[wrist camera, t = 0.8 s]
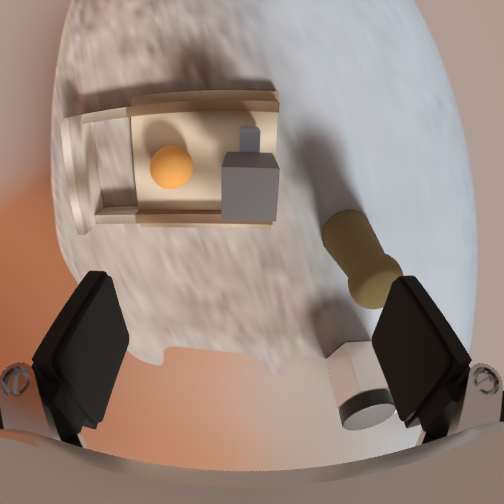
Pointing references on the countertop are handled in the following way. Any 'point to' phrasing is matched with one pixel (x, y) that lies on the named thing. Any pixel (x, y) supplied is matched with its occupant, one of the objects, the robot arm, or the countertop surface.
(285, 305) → the countertop surface
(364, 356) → the jar
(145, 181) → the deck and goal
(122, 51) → the countertop surface
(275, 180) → the grey stepped block
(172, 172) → the ball
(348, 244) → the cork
